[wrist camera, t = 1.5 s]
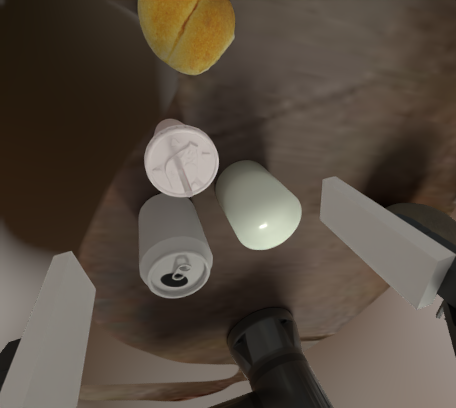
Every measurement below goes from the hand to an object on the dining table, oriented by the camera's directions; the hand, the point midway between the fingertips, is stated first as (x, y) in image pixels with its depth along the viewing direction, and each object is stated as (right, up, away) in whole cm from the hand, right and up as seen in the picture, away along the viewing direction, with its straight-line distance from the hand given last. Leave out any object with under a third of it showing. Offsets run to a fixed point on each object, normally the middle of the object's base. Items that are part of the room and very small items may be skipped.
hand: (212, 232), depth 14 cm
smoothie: (-6, +10, +17) cm, 20 cm away
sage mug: (+3, +4, +23) cm, 23 cm away
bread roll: (-3, +19, +12) cm, 23 cm away
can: (-7, 0, +22) cm, 23 cm away
